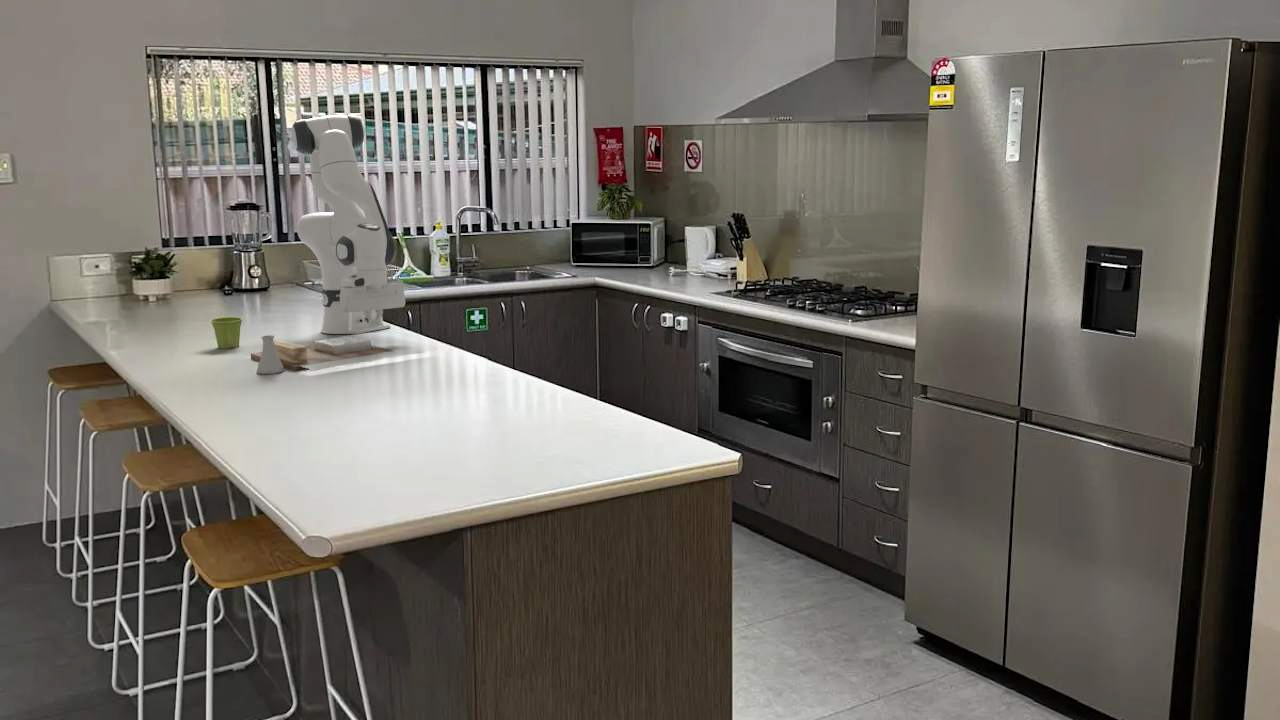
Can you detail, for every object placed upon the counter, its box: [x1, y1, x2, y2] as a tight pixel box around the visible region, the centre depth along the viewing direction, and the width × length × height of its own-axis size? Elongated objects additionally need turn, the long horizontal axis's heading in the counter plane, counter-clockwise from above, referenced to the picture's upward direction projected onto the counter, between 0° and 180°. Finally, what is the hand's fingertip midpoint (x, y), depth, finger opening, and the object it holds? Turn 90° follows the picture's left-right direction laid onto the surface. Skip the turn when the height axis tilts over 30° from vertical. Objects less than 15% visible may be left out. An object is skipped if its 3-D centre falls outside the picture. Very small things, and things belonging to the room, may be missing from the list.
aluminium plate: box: [313, 335, 372, 355], centre depth 339 cm, size 12×12×2 cm
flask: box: [255, 334, 286, 375], centre depth 314 cm, size 7×7×10 cm
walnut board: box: [250, 344, 395, 372], centre depth 335 cm, size 31×28×2 cm
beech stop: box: [273, 338, 307, 363], centre depth 327 cm, size 4×18×4 cm, turn 43°
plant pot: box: [209, 316, 243, 350], centre depth 354 cm, size 9×9×9 cm
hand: (374, 325), depth 345 cm, fingers closed
